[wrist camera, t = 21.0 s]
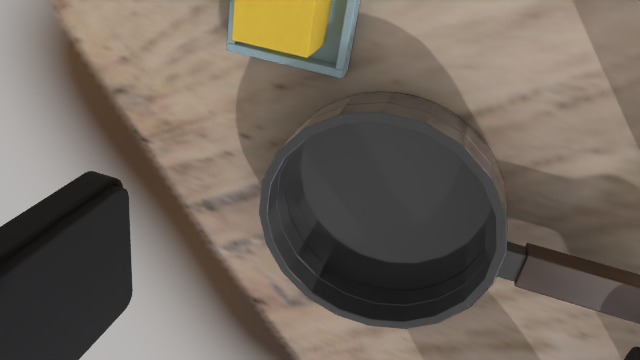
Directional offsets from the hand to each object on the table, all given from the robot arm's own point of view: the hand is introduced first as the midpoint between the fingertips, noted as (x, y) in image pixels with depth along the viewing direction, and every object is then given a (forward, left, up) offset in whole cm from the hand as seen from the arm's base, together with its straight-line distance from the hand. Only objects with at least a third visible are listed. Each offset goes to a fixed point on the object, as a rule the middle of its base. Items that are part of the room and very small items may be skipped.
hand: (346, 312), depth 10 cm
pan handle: (+11, +12, -21) cm, 26 cm away
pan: (+11, -1, -23) cm, 26 cm away
